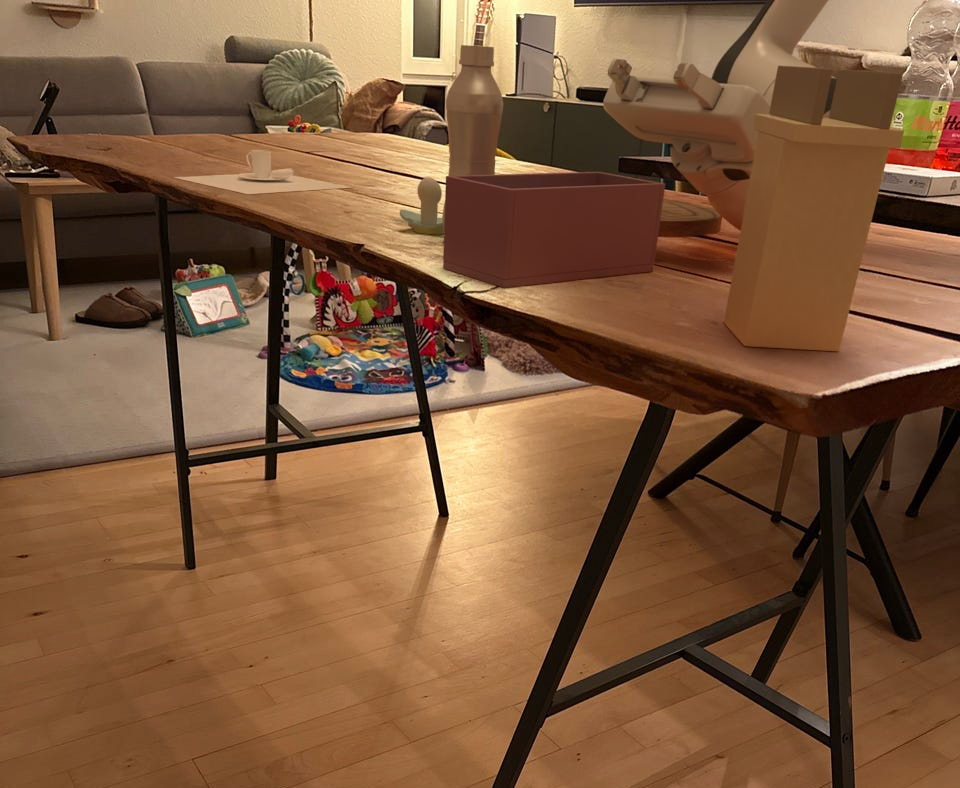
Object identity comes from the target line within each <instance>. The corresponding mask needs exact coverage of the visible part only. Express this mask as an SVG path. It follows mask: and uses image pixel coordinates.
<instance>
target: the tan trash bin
mask: <svg viewBox="0 0 960 788" xmlns="http://www.w3.org/2000/svg"><path fill="white" fill-rule="evenodd" d="M833 72H834V68H828V67H827V68H826V67H816V68H814V67H797V66H781V65H779V66H778V69H777V74H776V80H775V85H774V90H773V96H772V101H771V106H770V112H769V114H756V116H755V121H754V127H753V130H756V131H759V133H758V139H757V144H756V149H755V155H754V160H753V166H752V171H751V177H750V182H749V188H748V193H747V199H746V204H745V210H744V215H743V220H742V226H741V231H740V230H739V232H740V233H739V237H738V242H737V243H738V244H737V249H736V254H735V259H734V264H733V270H732V275H731V281H730V287H729V292H728V297H727V301H726V302H727V303H726V308H725V314H724V320H723V324H724V325H725V326H726V327H727V328H728V330H730V331H731V333H732V334H733V335H734V336H735V338H736V339H737V340H738V341H739V342H740V343H741V344H742V346H743V347H748V348H749V347H750V348H751V347H752V348H753V347H754V348H768V349H786V350H787V349H788V350H804V351H805V350H806V351H821V352H840V351H841V350H840V349H841V345H842V341H843V337H844V333H845V329H846V325H847V321H848V317H849V313H850V309H851V306H852V301H853V297H854V294H855V293H854V292H855V289H856V285H857V281H858V277H859V273H860V269H861V265H862V260H863V256H864V252H865V249H866V245H867V241H868V236H869V233H870V229H871V224H872V221H873V217H874V212H875V208H876V204H877V201H878V197H879V193H880V188H881V184H882V180H883V176H884V172H885V168H886V164H887V160H888V155H889V152H890V149H900V148H901V146H902V142H903V138H904V133H905V130H904V129H901V128H897V127H896V128H895V127H891V125H892V121H893V118H894V113H895V108H896V105H897V101H898V97H899V94H900V93H899V92H900V88H901V85H902V80H903V76H904V73H903V72H890V71H873V70H859V69H858V70H857V69H841V68H839V69H838V73H837V78H836V79H837V82H836V86H835V91H834V96H833V100H832V105H831V109H830V114H829V118H823V115H824V110H825V106H826V101H827V96H828V91H829V87H830V82H831V77H832V76H833Z"/></svg>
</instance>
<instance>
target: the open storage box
mask: <svg viewBox="0 0 960 788" xmlns="http://www.w3.org/2000/svg"><path fill="white" fill-rule="evenodd" d="M665 190H666V183H665V182H659V181H652V180H647V179H641V178H635V177H631V176H624V175H619V174H613V173H608V172H603V171H577V172H576V171H575V172H542V173H541V172H538V173H535V172H533V173H506V174H505V173H504V174H503V173H501V174H499V173H498V174H495V175H461V176H448V175H446V176H445V190H444V191H445V193H444V194H445V195H444V203H445V221H444V233H443V256H442V257H443V258H442V259H443V261H442V268H443V269H444V270H447V271H450V272H453V273H457V274H460V275H463V276H466V277H469V278H472V279H476V280H478V281H481V282H485V283H487V284H492V285H494V286H497V287H500V288H504V289H506V288H507V289H508V288H516V287H523V286H534V285H542V284H543V285H544V284H550V283H551V284H552V283H559V282H561V283H562V282H571V281H578V280H580V281H581V280H587V279H598V278H607V277H616V276H622V275H623V276H624V275H633V274H643V273H651V272H654V268H655V260H656V254H657V247H658V239H659V236H658V233H659V226H660V219H661V212H662V205H663V199H665V198H664V197H665Z"/></svg>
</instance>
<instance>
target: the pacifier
mask: <svg viewBox="0 0 960 788" xmlns="http://www.w3.org/2000/svg"><path fill="white" fill-rule="evenodd" d="M442 194H443V191H442V188H441V185H440V184H439V182H438V181H437V180H436V179H434V178H432V177H424V178H423V179H421V180H420V181H419V183H418V186H417V196H418V199H419V201H420V213H416V212H414V211H411V210H407V209H399V215H400V218H401V219H402V220H403V221H405V222H407V226H408V227H410V229H411V228H412V229H414V232H415V233H418V234H423V235H433V236H434V235H441V234H444V230H443V221H442V217H438V212H439V211H438V209H439V207H438V205H439V203H440V201H441V199H442V196H443V195H442Z"/></svg>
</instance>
